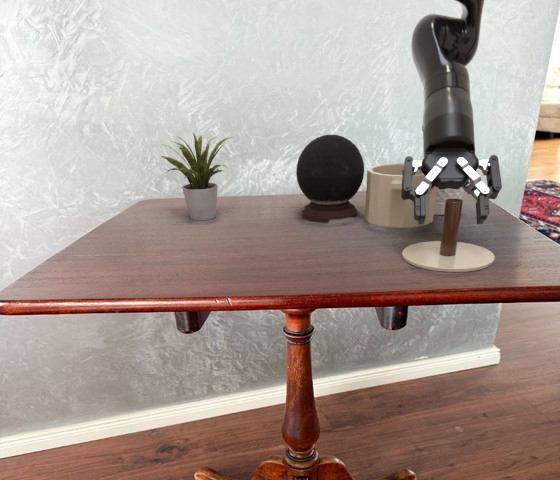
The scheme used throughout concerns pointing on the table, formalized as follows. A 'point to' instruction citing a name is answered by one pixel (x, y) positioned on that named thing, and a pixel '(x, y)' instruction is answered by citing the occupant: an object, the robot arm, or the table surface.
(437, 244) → the lid
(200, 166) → the house plant
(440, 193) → the white cup
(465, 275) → the table surface
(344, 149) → the black ball on stand
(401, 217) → the pot
